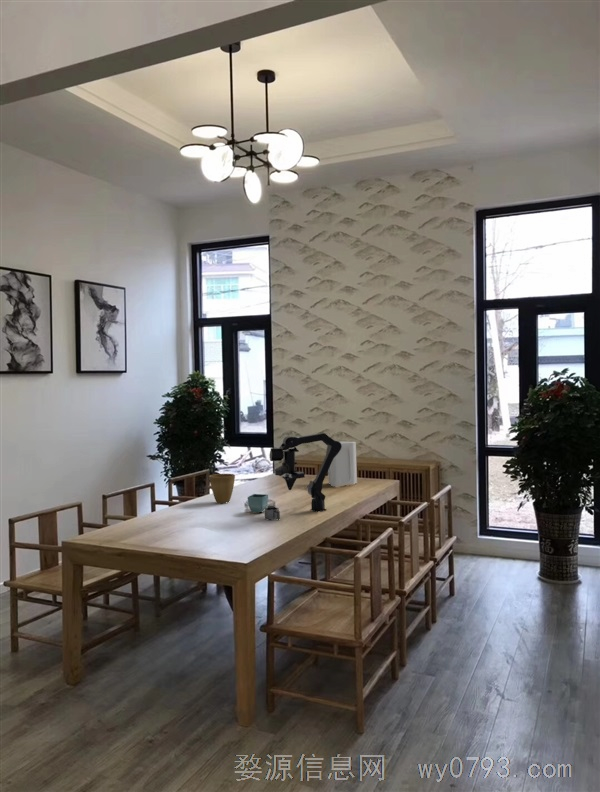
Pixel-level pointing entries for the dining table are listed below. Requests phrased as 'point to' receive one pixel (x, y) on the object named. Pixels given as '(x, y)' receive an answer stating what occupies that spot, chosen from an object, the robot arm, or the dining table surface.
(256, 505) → the flower pot
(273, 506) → the dark round piece
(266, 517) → the grey octagonal mug
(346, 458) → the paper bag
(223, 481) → the plant pot
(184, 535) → the dining table surface
